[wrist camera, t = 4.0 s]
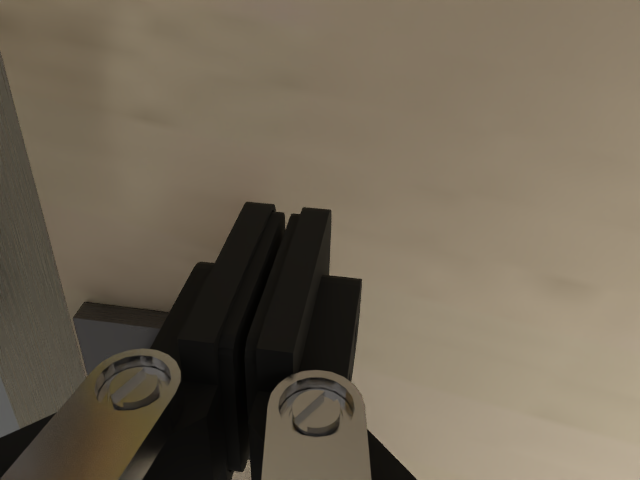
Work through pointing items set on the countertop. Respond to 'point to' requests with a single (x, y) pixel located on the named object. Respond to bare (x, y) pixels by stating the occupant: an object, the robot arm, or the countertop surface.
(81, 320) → the dark grey faucet base
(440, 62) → the countertop surface
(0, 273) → the rail
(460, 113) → the countertop surface
